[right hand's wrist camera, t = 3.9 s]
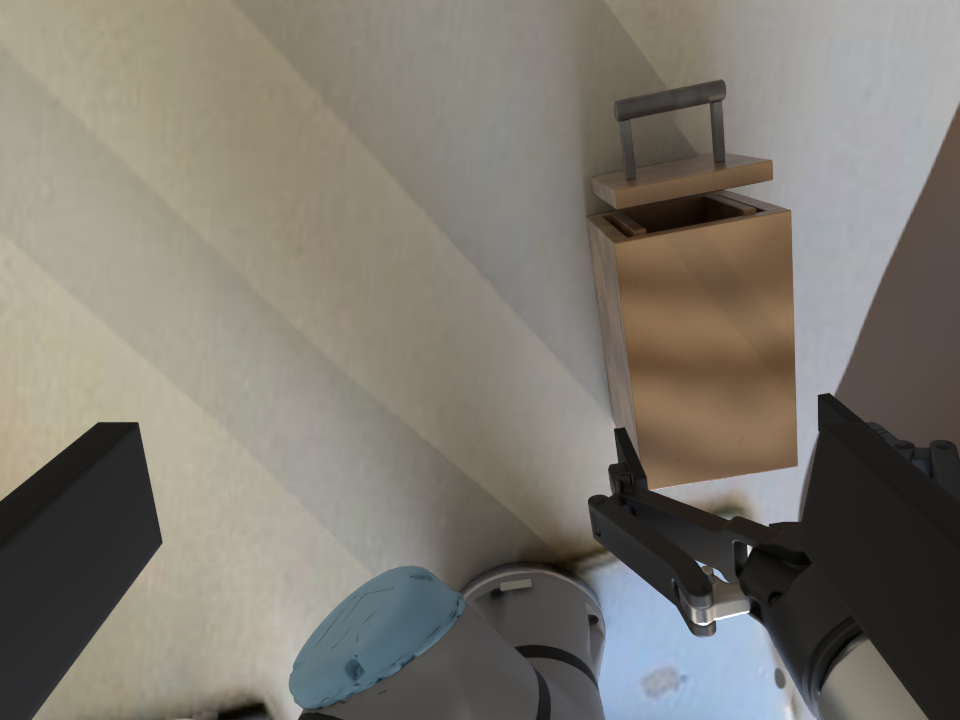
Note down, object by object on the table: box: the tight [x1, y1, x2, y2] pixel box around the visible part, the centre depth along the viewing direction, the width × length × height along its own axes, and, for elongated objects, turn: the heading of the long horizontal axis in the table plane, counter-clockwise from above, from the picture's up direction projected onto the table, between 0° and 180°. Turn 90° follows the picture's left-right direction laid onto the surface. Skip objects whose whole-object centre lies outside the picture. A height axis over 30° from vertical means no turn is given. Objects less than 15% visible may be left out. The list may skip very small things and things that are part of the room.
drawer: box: [591, 80, 773, 237], centre depth 46 cm, size 22×10×10 cm, turn 11°
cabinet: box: [586, 190, 798, 490], centre depth 49 cm, size 18×11×12 cm, turn 11°
